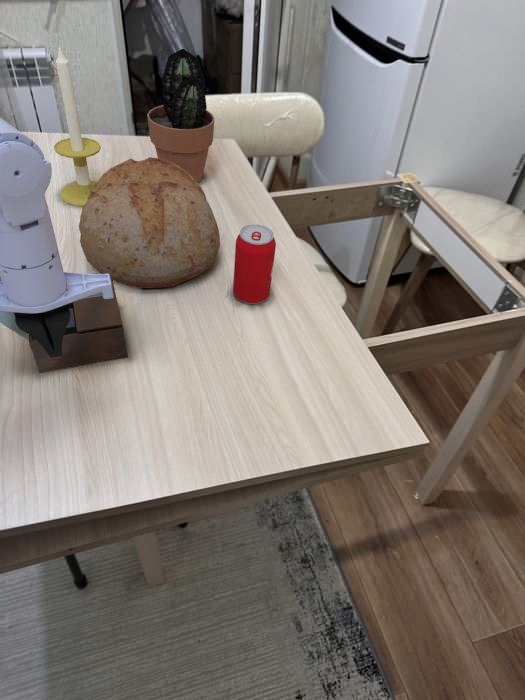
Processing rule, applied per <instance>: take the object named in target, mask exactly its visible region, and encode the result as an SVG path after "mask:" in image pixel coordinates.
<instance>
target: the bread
mask: <svg viewBox="0 0 525 700" xmlns="http://www.w3.org/2000/svg"><path fill="white" fill-rule="evenodd" d="M95 182H96V183H95V185H94V186H93V188H92V189H91V192H90V194H89V196H88V200H87V202H86V203H85V204H84V205H83V206H82V209H81V213H80V216H79V223H78V231H79V233H80V239H79V244H80V247H81V250H82V252H83V254H84V257H85V258H86V261H87V262H88V263H89V264H90V265H91V267H92V268H93V269H94V270H95V271H96V272H98V273H99V274H109V275H111V277H112V280H113V282H117V283H119V284H122V285H124V286H129V287H133V288H134V287H135V288H142V289H144V288H145V289H157V288H158V289H159V288H160V289H161V288H171V287H173V286H176V285H179V284H181V283H183V282H186V281H188V280H191V279H192V278H194V277H197V276H198V275H201V274H203V273H204V272H206V271H207V270H208V269H209V268H210V267H212V265H213V264H214V262H215V260H216V258H217V256H218V254H219V250H220V247H221V237H220V229H219V226H218V223H217V220H216V218H215V215H214V212H213V209H212V207H211V205H210V203H209V201H208V200H207V197H206V193H205V192H204V189H203V187H202V186H201V185H200V184H199V183H197V182H196V181H195V179H194V178H193V177H192V176H191V175H190V174H189V173H188V172H186V171H185V170H184V169H182V168H181V167H179V166H178V165H176V164H174V163H172V162H170V161H167V160H164V159H161V158H158V157H150V156H149V157H147V158H145V159H142V160H134V159H133V158H129V159H128V160H124V161H122V162H120V163H119V164H116V165H114V166H112V167H110V168H109V169H108V170H107V171H105V172H104V173H103V174H102V175H101V177H100V178H99V179H98V180H97V181H95Z"/></svg>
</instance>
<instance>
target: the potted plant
mask: <svg viewBox="0 0 525 700" xmlns="http://www.w3.org/2000/svg"><path fill="white" fill-rule="evenodd" d="M205 87H206V79H205V76H204V73H203V70H202V65H201V62H200V59H199V58H198V57H197V56H195V55H194V54H192V53H191V52H189V51H187V50H186V49H185V48H181V49H179V50H177V51H175V52H173V53H172V54H170V55H167V60H166V64H165V67H164V71H163V75H162V78H161V92H162V103H163V104H162V105H159V106H155V107H153V108H152V109H150V110H149V111H148V113H147V114H146V116H147V125H148V133H149V139H150V142H151V143H152V144H153V145H154V148H155V152H156V156H157V158H161V159H164V160H167V161H170V162H172V163H174V164H176V165H178V166H179V167H181V168H182V169H184V170H185V171H186V172H188V173H189V174H190V175H191V176H192V177H193V178H194V179H195V181H196V182H197V183H198V184H199V183H200V182H201V181H202V180H203V176H204V171H205V167H206V163H207V159H208V153H209V149H210V147H211V146H212V145H213V142H214V133H215V132H214V131H215V120H216V119H215V116H214V115H213V113H212V112H210V111H209V110H207V109H208V106H207V98H206V91H205V90H206V89H205Z"/></svg>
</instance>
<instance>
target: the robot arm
mask: <svg viewBox="0 0 525 700" xmlns="http://www.w3.org/2000/svg"><path fill="white" fill-rule="evenodd" d="M52 169H53V168H52V163H51V162H50V161H47V159H46V158H45V155H44V153H43V151H42V149H41V148H40V146H39V145H38V144H37V143H36V142H34V140H33V139H31V138H30V137H29V136H27V135H26V134H24V133H23V132H21V131H20V130H18V129H17V128H16V127H14V126H13V125H11V124H10V123H9V122H7V121H6V120H4V119H3V118H1V117H0V277H1V280H2V281H0V311H5V312H14V315H15V323H16V325H17V326H18V328H19V329H20V330H22V331H24V332H26V333H27V334H29V335H30V336H32V337H33V338H34V339H35V340H36V341H37V342H38V343H39V344H40V345H41V346H42V347H43V348H44V349H45V351H46V352H47V353H48V355H49V357H50V358H53V357H59V356H62V355H63V352H62V341H63V336H64V332H65V329H66V327H67V325H68V323H69V321H70V307H69V303H71V302H74V301H77V300H79V299H83V298H90V297H97V296H103V299H110V298H114V296H113V290H112V284H111V280H110V275H109V274H101V273H82V272H81V273H80V272H70V271H69V272H68V271H64V268H63V263H62V260H61V255H60V251H59V247H58V243H57V238H56V234H55V230H54V227H53V226H54V225H53V222H52V218H51V213H50V209H49V205H48V202H47V198H46V193H47V191H48V188H49V186H50V184H51V180H52V173H53V170H52ZM29 335H28V336H29Z"/></svg>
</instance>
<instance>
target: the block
mask: <svg viewBox="0 0 525 700" xmlns="http://www.w3.org/2000/svg"><path fill="white" fill-rule="evenodd" d="M74 333H79V332H77V327H76V320H75V314H74V310H73V308H71V309H70V321H69V323H68V325H67V327H66V329H65V332H64V335H68V334H74Z"/></svg>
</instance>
